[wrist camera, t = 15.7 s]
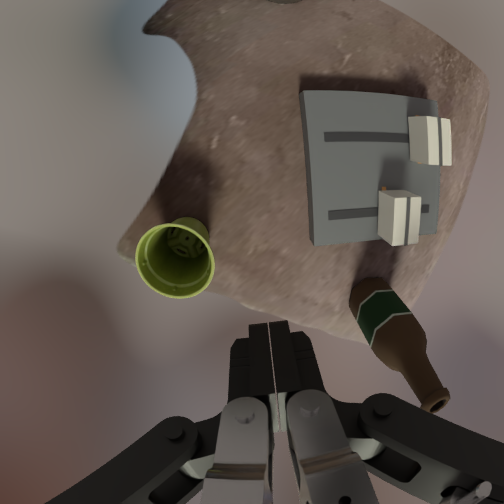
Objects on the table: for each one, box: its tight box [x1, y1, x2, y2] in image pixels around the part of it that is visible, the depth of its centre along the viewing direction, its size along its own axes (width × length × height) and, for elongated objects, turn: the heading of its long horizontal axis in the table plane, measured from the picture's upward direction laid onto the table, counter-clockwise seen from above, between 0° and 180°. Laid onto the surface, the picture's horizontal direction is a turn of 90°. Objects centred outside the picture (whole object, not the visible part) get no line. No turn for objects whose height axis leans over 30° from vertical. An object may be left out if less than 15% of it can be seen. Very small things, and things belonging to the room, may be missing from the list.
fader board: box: [299, 90, 440, 246], centre depth 34 cm, size 20×20×3 cm
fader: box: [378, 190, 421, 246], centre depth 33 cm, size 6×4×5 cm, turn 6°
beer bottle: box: [349, 278, 450, 414], centre depth 33 cm, size 8×8×24 cm
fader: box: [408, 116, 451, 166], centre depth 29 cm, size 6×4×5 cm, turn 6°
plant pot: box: [135, 217, 215, 298], centre depth 35 cm, size 9×9×9 cm
